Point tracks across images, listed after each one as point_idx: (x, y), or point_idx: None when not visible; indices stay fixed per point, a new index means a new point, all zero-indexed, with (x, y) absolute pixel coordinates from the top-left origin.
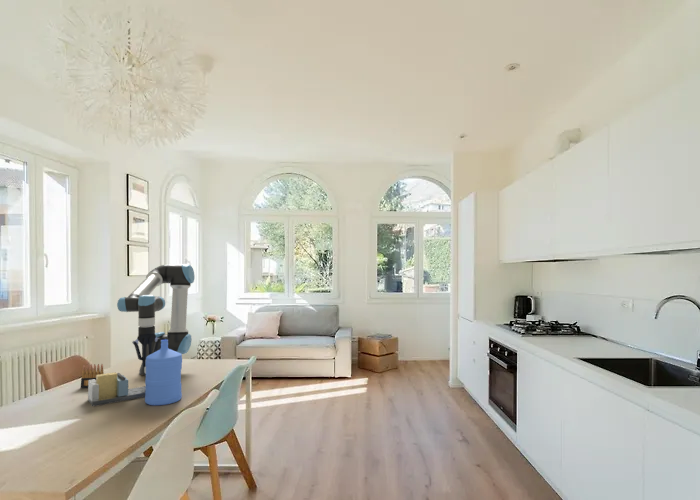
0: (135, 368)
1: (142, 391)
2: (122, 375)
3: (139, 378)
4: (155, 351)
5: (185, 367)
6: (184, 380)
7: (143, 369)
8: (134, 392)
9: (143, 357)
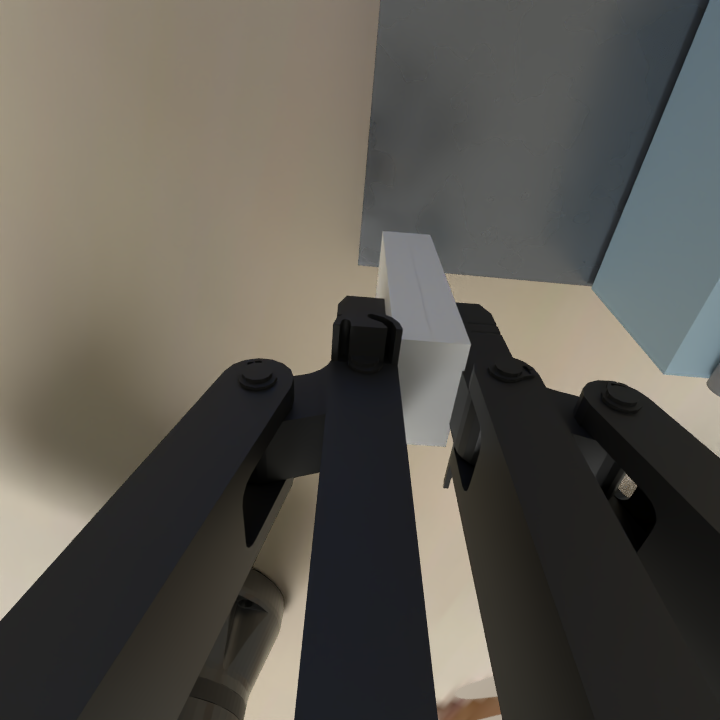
0: (272, 677)
1: (500, 48)
2: (687, 353)
3: (308, 546)
4: (152, 497)
5: (16, 583)
6: (14, 318)
7: (263, 618)
8: (579, 82)
9: (553, 412)
